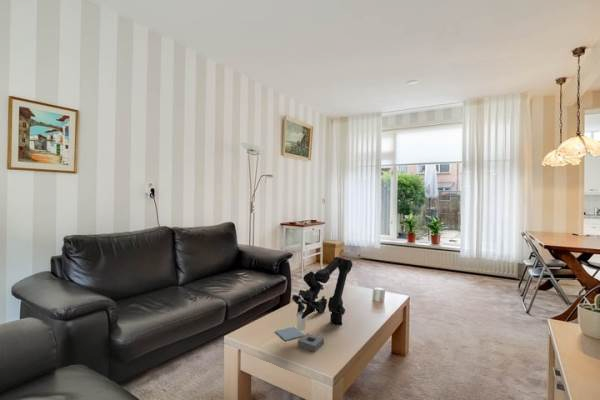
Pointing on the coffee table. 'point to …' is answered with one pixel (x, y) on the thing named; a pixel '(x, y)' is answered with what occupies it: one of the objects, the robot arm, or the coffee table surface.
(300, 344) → the socket block
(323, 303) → the controller
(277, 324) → the coffee table surface
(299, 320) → the plug
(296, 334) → the mat
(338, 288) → the robot arm
